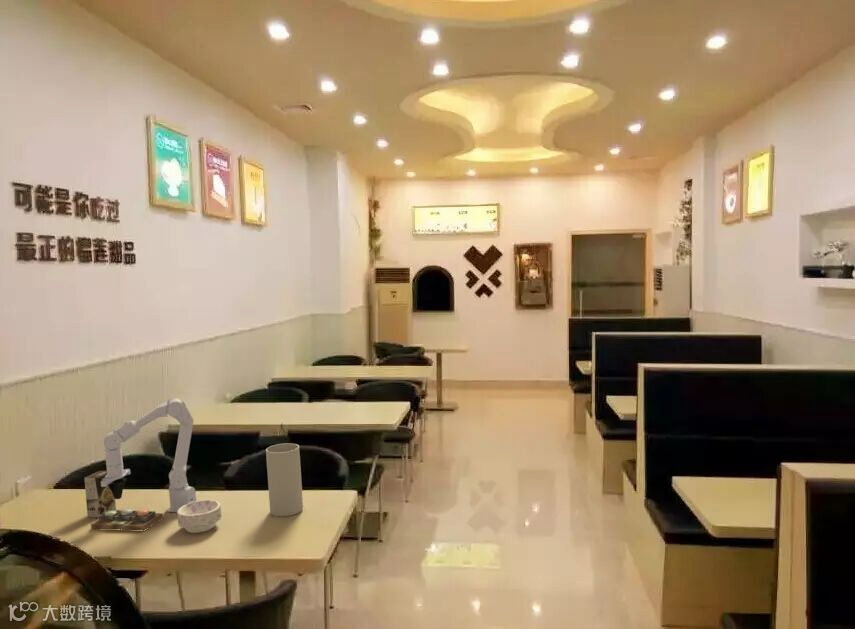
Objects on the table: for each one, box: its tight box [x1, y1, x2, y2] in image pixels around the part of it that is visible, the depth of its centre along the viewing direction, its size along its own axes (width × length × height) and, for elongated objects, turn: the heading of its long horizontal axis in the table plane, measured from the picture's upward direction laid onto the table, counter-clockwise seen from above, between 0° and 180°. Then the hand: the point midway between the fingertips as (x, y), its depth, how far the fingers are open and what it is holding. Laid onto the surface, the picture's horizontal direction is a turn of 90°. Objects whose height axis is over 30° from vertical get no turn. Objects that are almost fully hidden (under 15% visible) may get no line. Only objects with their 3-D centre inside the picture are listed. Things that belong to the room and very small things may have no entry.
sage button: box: [105, 511, 116, 516], centre depth 247 cm, size 4×4×2 cm
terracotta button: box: [137, 508, 150, 517], centre depth 244 cm, size 4×4×2 cm
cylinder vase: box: [265, 442, 304, 518], centre depth 250 cm, size 12×12×25 cm
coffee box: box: [84, 470, 117, 519], centre depth 258 cm, size 9×6×16 cm
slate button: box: [121, 508, 134, 516], centre depth 246 cm, size 4×4×2 cm
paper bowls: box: [176, 499, 223, 534], centre depth 239 cm, size 15×15×8 cm
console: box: [90, 509, 164, 532], centre depth 246 cm, size 22×12×4 cm, turn 79°
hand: (118, 498), depth 250 cm, fingers closed
